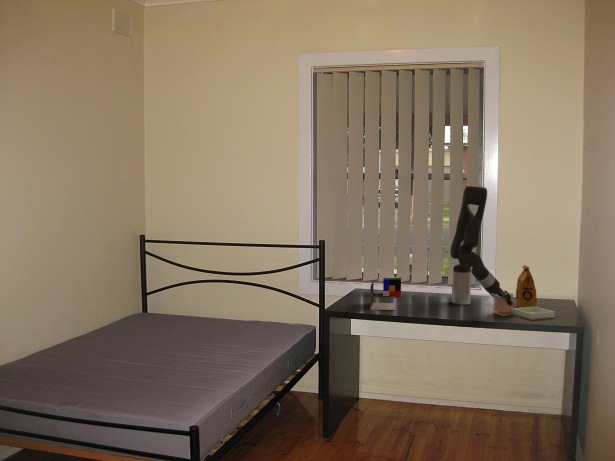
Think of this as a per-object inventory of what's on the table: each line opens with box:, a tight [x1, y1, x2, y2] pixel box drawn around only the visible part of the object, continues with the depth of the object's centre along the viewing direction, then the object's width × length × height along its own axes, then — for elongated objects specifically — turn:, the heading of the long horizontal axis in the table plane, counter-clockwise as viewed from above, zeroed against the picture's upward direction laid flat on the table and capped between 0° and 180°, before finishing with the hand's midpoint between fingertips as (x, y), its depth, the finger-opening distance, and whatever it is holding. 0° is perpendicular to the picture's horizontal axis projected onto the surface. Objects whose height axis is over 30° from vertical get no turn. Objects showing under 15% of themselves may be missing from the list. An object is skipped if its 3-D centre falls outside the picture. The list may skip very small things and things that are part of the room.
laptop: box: [369, 280, 397, 312], centre depth 334 cm, size 18×12×13 cm
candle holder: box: [492, 310, 514, 317], centre depth 316 cm, size 8×8×5 cm
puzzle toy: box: [382, 276, 402, 298], centre depth 368 cm, size 10×10×10 cm
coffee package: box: [515, 264, 537, 308], centre depth 328 cm, size 10×12×22 cm
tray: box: [512, 306, 556, 321], centre depth 310 cm, size 14×14×3 cm
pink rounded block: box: [495, 292, 514, 313], centre depth 316 cm, size 6×7×9 cm
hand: (507, 303), depth 317 cm, fingers closed on pink rounded block, 5 cm apart
